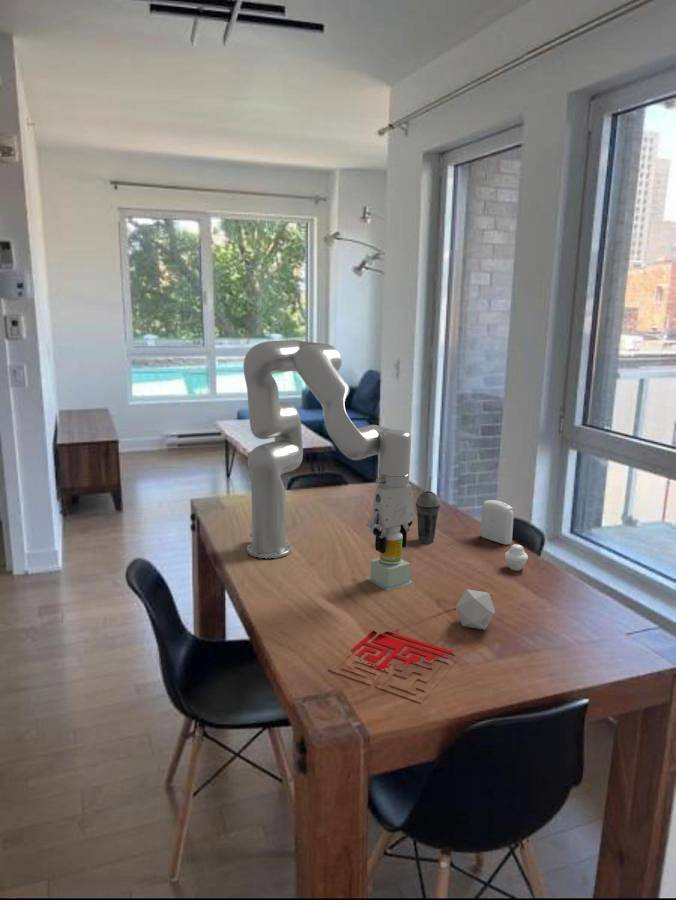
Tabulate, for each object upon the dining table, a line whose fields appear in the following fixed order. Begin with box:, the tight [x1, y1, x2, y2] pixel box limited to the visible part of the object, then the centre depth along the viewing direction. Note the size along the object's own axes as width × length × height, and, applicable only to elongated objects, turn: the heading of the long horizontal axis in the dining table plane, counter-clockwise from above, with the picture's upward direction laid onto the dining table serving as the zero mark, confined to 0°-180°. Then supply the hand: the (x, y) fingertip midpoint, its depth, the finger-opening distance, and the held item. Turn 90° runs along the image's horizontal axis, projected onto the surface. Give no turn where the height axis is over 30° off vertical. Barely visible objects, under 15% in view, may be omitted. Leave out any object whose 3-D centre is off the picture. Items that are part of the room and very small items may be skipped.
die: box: [455, 589, 496, 631], centre depth 147 cm, size 8×9×10 cm
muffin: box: [504, 543, 529, 571], centre depth 179 cm, size 6×6×7 cm
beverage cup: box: [415, 476, 441, 545], centre depth 197 cm, size 7×7×20 cm
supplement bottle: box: [379, 525, 403, 564], centre depth 165 cm, size 5×5×10 cm
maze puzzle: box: [350, 630, 455, 673], centre depth 132 cm, size 20×20×1 cm
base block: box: [370, 557, 411, 588], centre depth 167 cm, size 7×7×5 cm
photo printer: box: [480, 499, 515, 546], centre depth 200 cm, size 10×4×12 cm, turn 39°
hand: (390, 547), depth 165 cm, fingers open, 6 cm apart
